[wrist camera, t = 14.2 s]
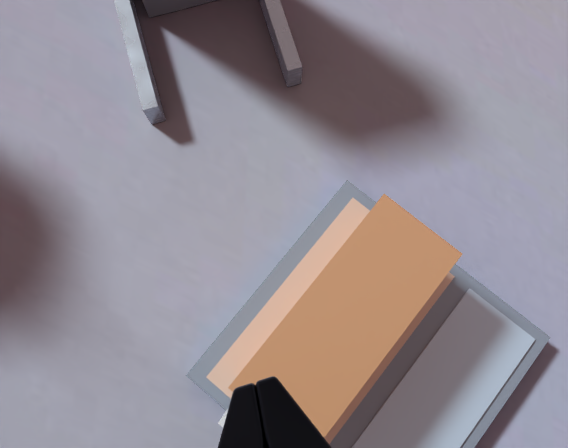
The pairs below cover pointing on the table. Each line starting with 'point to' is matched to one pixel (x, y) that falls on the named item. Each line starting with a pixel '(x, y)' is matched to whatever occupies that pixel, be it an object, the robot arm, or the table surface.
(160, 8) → the plunger
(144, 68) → the plunger track
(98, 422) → the table surface
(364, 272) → the orange rectangular block
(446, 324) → the picture board
